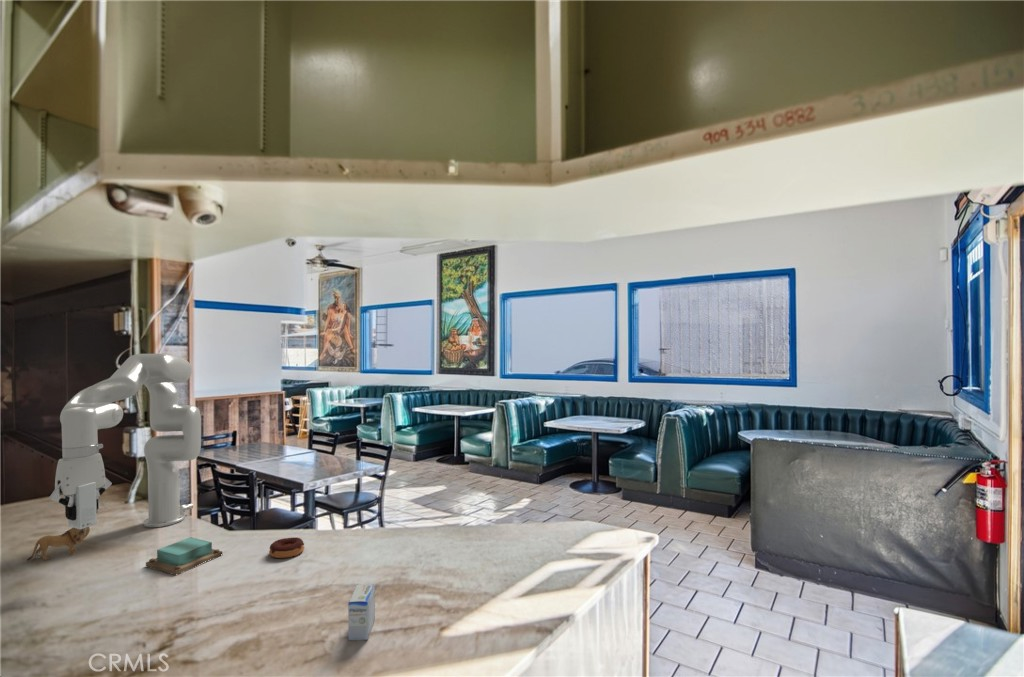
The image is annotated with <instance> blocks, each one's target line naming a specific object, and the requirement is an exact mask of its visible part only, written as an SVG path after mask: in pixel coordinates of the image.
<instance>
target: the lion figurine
mask: <svg viewBox="0 0 1024 677" xmlns="http://www.w3.org/2000/svg"><path fill="white" fill-rule="evenodd" d="M89 533H90V527H86V528H83V529H77V528H73V527H71V528H70V529H68V530H67V531H65V532H63V534H60V535H59V534H58V535H45V536H42V537H40V538H39V539H38V540H37V541H36V543H35V544H34V549H33V551H32V554H31V556H29V557H28V558H27V559H26V562H27V561H28V562H29V561H30V560H32V559H33V558H35V559H40V558H42V559H43V560H44V561H48V560H49V559H50V557H49V556H47V555H46V553H47V551H48V548H49V547H53V548H63V547H68V553H69V555H70V556H74V554H75V555H76V550H75V545H77V544H80V543H81V542H83V540H84V539H85V538H86V537H88V535H89ZM38 546H39V547H38ZM40 553H41V554H40Z"/></svg>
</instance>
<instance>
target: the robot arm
mask: <svg viewBox="0 0 1024 677" xmlns="http://www.w3.org/2000/svg"><path fill="white" fill-rule="evenodd" d="M192 373H193V369H192V365H191V363H190V362H189V361H188V360H187V359H185V358H182V357H179V356H176V355H173V354H169V353H137V354H136V353H135V354H132V355H130V356H129V357H128V358H126V360H125V361H124V362H123V363H122V364H121V365H120V366H119V367H118V368H117V370H116V371H115V372H114V373H113V374H112V375H111V376H110V377H108V378H106V379H103V380H102V381H99V382H96V383H95V384H93V385H90V386H87V387H86V388H83V389H82V390H80V391H78V393H76V394H75V395H73V396H72V398H70V400H68V402H67V403H66V404H65V405H64V407H63V408H62V410H61V412H60V416H59V421H60V424H61V441H62V442H61V450H62V453H61V454H62V458H59V459H58V462H57V464H56V470H55V477H54V478H55V479H54V481H55V482H54V490H53V491H52V493H51V494H50V495H49V497H48V499H49V500H50V501H53V502H56V503H59V504H61V505H63V506H64V508H65V512H64V514H65V517H66V519H67V520H68V519H69V520H72V521H73V520H76V506H74V500H75V495H76V494H77V487H78V486H81V485H85V484H89V483H93V482H95V483H96V511H97V512H98V510H99V499H101V496H102V495H103V493H105V492H106V490H108V489H109V488H110V487H111V486H112V482H111V481H110V480H109V479H108V478H107V477H106V470H105V465H104V461H103V457H102V454H101V453H100V449H103V448H104V444H103V443H99V440H98V439H99V438H98V434H99V433H98V430H101V429H102V430H103V429H110V428H114V427H116V426H117V425H118V424H120V422H121V421H122V420H123V417H124V410H123V408H122V407H121V405H120V404H117V403H115V402H118V401H122V400H125V399H128V398H131V397H133V396H135V395H136V394H137V393H138V391H139V390H140V389H141V388H142V387H143V385H144V386H145V388H147V391H148V393H149V424H150V425H149V426H150V428H151V430H152V431H154V432H161V433H162V432H170V433H171V432H182V434H167V435H166V434H165V435H163V434H162V435H156V436H152V437H151V438H149V439H147V441H146V442H145V444H144V447H143V452H144V458H145V461H146V467H147V469H146V470H147V494H148V495H147V496H148V497H147V501H148V502H147V504H148V505H147V507H148V508H147V510H148V511H147V513H148V515H147V516H148V517H147V518H145V520H143V521H142V522H143V523H142V525H143V527H146V528H161V527H167V526H171V525H174V524H178V523H180V522H181V521H183V520H185V518H186V514H185V513H184V512H185V511H189V510H192V509H193V508H194V504H193V503H190V504H180V503H181V502H180V499H181V498H180V497H181V494H180V493H181V492H180V470H179V468H178V466H177V465H176V463H175V462H183V461H193V460H195V459H197V458H199V455H200V453H201V449H202V448H201V447H202V414H201V411H200V409H199V408H198V407H197V406H196V405H190V404H187V405H186V404H182V405H179V392H178V389H177V388H176V386H175V385H174V384H175V383H177V384H178V383H185V382H187V381H188V380H189V379H190V378H191V376H192ZM60 495H63V497H61V496H60Z"/></svg>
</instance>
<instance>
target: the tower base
mask: <svg viewBox="0 0 1024 677" xmlns="http://www.w3.org/2000/svg"><path fill="white" fill-rule="evenodd" d="M221 554H222V555H223V551H222V550H220V549H214V548H213V542H212V541H207V540H204V539H199V538H196V537H191V536H190V537H188V538H183V539H182V540H180V541H177V542H174V543H172V544H169V545H166V546H164V547H161V548H158V549H156V557H157V558H150V559H149V560H148V561H146V562H145V567H146V566H147V567H146V568H149V567H151V568H150V569H153V568H154V570H156V569H157V570H156V571H160V570H161V571H160V572H163V571H164V572H163V573H166V572H167V573H166V574H170V573H172V574H171V575H173V574H175V575H174V576H177V575H176V574H178V573H180V574H182V573H181V572H183V571H185V572H187V571H189V570H188V569H190V570H192V569H194V568H196V567H198V566H197V565H199V564H201V563H203V562H205V561H208V560H210V559H213V558H215V557H217V556H219V555H221ZM217 558H218V557H217ZM215 559H216V558H215ZM213 560H214V559H213ZM210 561H211V560H210ZM208 562H209V561H208ZM203 564H204V563H203ZM201 565H202V564H201ZM195 566H196V567H195ZM199 566H200V565H199ZM193 567H194V568H193ZM191 568H192V569H191ZM186 570H187V571H186ZM183 573H184V572H183ZM178 575H179V574H178Z"/></svg>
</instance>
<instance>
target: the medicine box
mask: <svg viewBox="0 0 1024 677" xmlns="http://www.w3.org/2000/svg"><path fill="white" fill-rule="evenodd" d="M375 599H376V585H375V584H369V583H368V584H356V585H355V588H354V590H353V592H352V595H351V596H350V598H349V602H348V604H347V605H348V608H347V610H348V611H347V612H348V613H347V614H348V615H347V616H348V620H347V622H348V624H347V625H348V626H347V627H348V636H347V637H348V641H365V640H369V638H370V634H371V633H372V632H371V631H372V628H373V625H374V622H375V618H376V600H375Z"/></svg>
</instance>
